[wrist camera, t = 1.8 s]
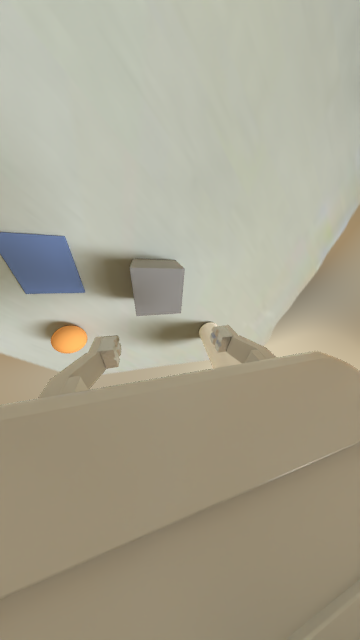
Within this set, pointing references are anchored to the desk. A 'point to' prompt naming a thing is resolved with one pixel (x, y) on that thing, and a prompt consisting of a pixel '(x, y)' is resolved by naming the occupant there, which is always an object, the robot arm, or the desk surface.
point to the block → (157, 286)
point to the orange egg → (69, 339)
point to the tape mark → (40, 263)
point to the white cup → (215, 357)
